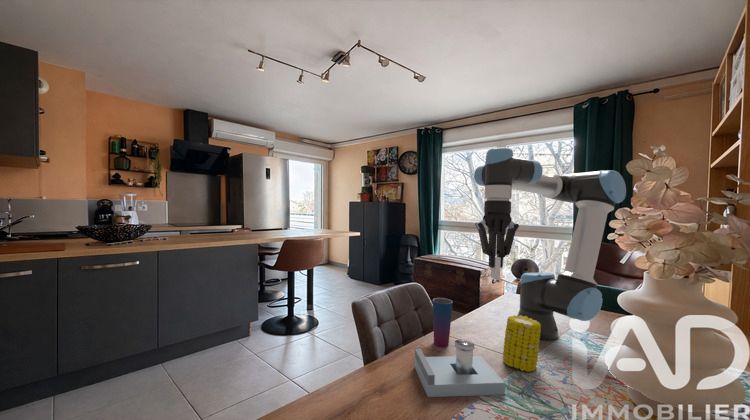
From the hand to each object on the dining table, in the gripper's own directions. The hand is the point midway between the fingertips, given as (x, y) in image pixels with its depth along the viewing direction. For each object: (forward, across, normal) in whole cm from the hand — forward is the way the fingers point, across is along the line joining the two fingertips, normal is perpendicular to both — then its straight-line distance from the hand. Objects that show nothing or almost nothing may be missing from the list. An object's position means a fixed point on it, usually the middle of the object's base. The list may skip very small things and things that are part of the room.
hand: (495, 278), depth 90 cm
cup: (+27, +11, -15) cm, 32 cm away
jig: (+26, +14, +7) cm, 31 cm away
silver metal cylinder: (+26, +12, +7) cm, 30 cm away
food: (+27, -9, 0) cm, 28 cm away
